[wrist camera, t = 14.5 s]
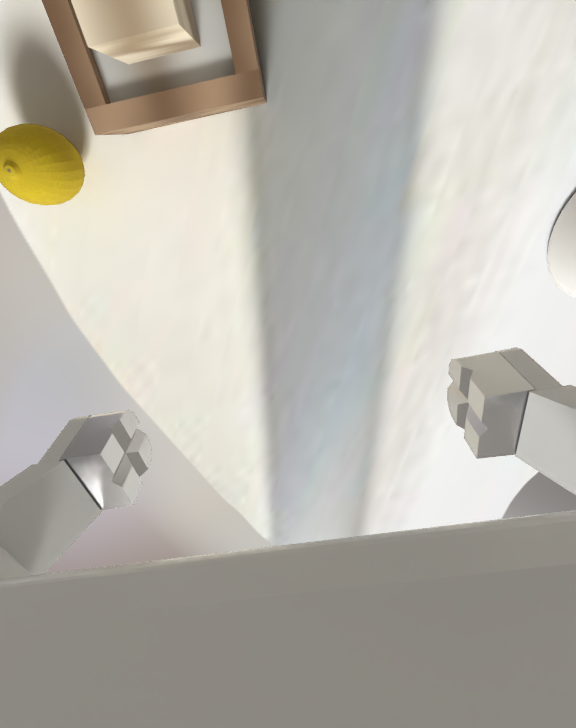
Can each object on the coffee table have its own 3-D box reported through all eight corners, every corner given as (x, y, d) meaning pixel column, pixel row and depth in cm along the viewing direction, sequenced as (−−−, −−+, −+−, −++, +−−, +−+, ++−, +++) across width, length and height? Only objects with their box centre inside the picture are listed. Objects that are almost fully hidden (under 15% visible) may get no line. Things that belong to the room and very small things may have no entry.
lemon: (106, 146, 31) (57, 151, 24) (92, 208, 34) (45, 227, 27) (37, 110, 30) (-35, 104, 23) (28, 177, 32) (-38, 190, 26)
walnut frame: (226, -124, 23) (210, -198, 18) (266, 102, 30) (263, 96, 24) (52, -75, 24) (-11, -132, 19) (127, 134, 31) (95, 135, 26)
